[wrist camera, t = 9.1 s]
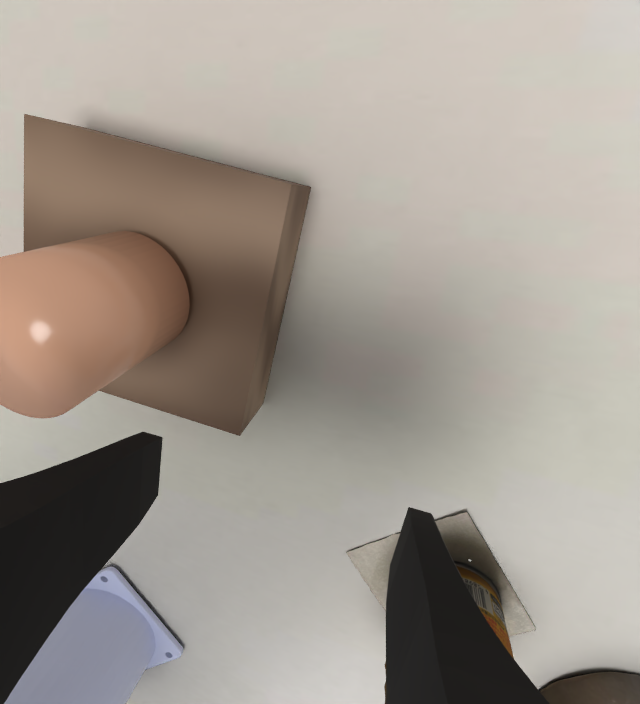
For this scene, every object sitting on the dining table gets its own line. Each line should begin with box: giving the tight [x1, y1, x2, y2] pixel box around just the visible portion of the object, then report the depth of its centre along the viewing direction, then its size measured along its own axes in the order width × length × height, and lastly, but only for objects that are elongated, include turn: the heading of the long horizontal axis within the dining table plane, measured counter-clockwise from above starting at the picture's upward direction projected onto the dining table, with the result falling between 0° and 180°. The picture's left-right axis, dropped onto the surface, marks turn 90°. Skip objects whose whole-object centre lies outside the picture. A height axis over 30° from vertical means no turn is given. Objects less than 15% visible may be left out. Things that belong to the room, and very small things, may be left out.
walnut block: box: [24, 114, 311, 436], centre depth 21 cm, size 11×11×4 cm
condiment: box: [346, 512, 536, 704], centre depth 20 cm, size 7×8×12 cm
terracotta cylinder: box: [0, 231, 190, 418], centre depth 16 cm, size 5×5×6 cm
